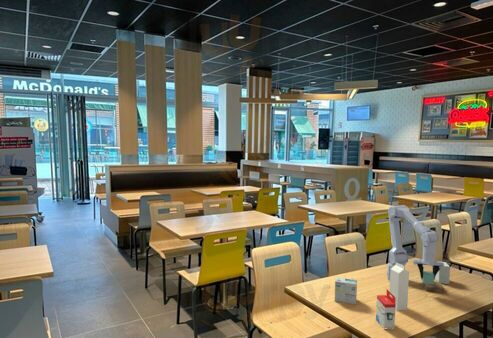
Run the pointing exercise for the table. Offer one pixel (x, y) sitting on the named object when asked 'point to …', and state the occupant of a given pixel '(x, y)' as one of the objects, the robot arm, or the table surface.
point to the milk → (399, 286)
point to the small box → (443, 274)
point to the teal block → (428, 277)
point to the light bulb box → (345, 290)
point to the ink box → (386, 310)
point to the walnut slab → (433, 287)
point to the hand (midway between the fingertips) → (427, 278)
